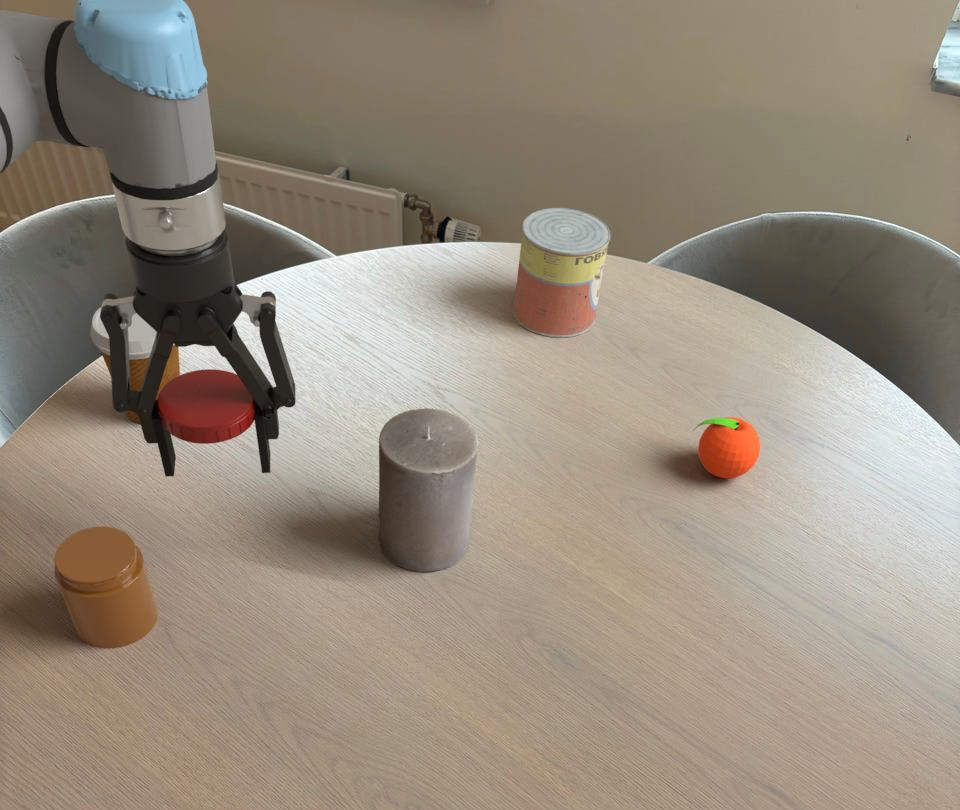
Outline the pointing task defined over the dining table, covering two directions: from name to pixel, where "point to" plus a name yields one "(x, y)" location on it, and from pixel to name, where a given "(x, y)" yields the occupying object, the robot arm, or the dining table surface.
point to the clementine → (728, 447)
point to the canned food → (560, 271)
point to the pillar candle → (426, 488)
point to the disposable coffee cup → (135, 353)
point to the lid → (206, 406)
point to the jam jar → (105, 587)
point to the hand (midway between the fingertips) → (218, 464)
